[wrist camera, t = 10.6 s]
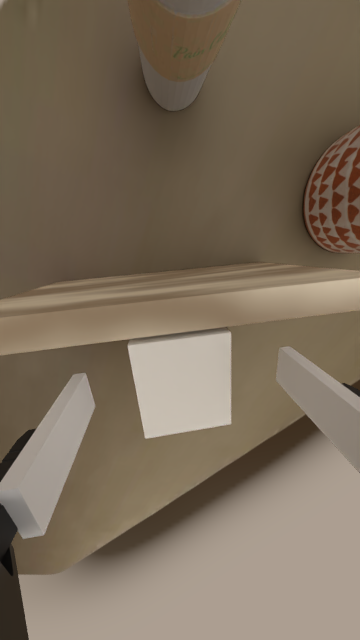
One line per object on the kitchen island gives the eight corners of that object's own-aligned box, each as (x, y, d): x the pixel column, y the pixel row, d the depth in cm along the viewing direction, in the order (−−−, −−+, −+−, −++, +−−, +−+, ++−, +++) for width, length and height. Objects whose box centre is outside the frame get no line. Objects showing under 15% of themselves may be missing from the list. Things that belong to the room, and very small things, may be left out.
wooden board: (59, 281, 24) (-94, 327, 9) (259, 262, 27) (395, 273, 12) (75, 340, 27) (-23, 449, 12) (257, 318, 29) (364, 386, 14)
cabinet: (139, 305, 20) (127, 346, 11) (198, 298, 20) (231, 332, 12) (150, 375, 22) (147, 451, 14) (202, 368, 23) (231, 436, 14)
